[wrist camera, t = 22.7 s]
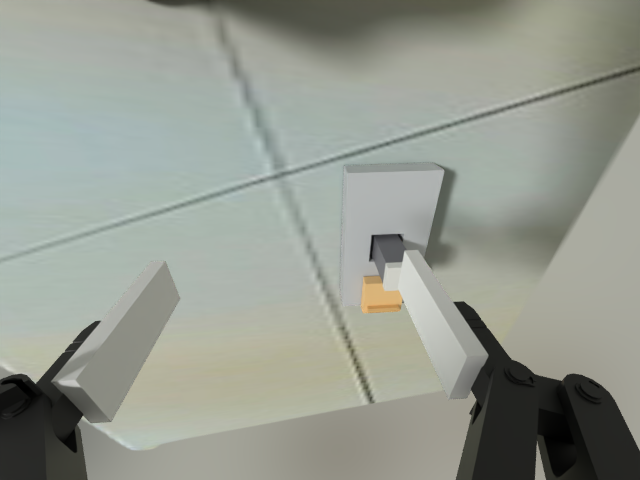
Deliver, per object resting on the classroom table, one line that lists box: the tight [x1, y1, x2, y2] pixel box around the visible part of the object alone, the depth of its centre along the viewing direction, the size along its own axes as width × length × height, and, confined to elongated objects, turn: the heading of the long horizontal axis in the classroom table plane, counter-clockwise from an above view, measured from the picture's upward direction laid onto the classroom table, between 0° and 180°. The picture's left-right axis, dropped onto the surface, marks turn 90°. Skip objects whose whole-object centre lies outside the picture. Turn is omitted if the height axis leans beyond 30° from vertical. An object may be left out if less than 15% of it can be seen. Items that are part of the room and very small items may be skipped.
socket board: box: [340, 163, 445, 306], centre depth 46 cm, size 26×14×4 cm, turn 1°
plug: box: [370, 234, 407, 291], centre depth 43 cm, size 4×4×12 cm
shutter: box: [361, 276, 403, 313], centre depth 48 cm, size 7×7×3 cm
